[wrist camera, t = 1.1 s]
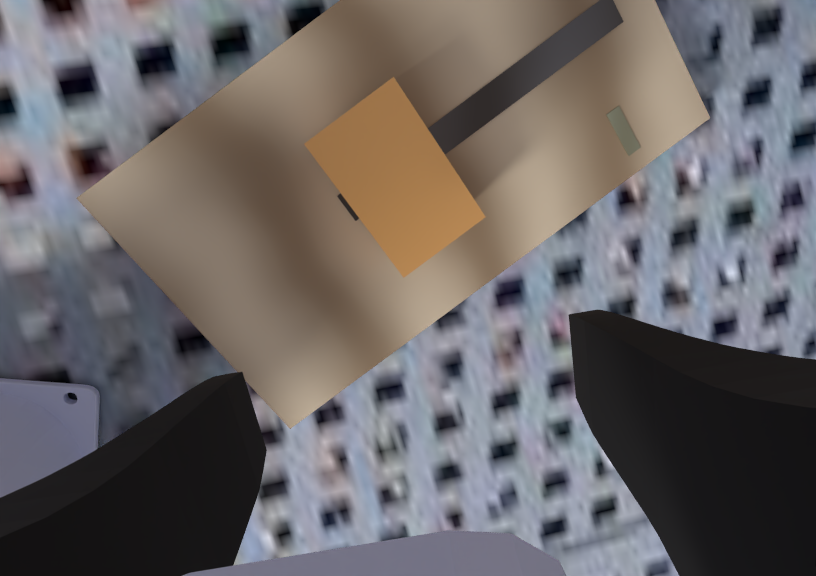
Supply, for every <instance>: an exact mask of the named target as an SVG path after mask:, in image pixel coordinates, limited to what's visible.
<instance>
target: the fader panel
mask: <svg viewBox="0 0 816 576" xmlns="http://www.w3.org/2000/svg"><path fill="white" fill-rule="evenodd" d="M393 77H394V78H395V80H396V81H397V83H398V84H399V86H400V87H401V89H402V90H403V92H404V93H405V95H406V96H407V98H408V99H409V101H410V102H411V104H412V105H413V107H414V108H415V110H416V112H417V113H418V115H419V116H420V118H421V119H422V121H423V122H424V124H425V125H426V127H427V128H428V130H429V131H430V133H431V134H432V136H433V137H434V139H435V140H436V142H437V143H438V145H439V147H440V148H441V150H442V151H443V153H444V154H445V156H446V157H447V159H448V160H449V162H450V163H451V165H452V166H453V168H454V169H455V171H456V172H457V174H458V175H459V177H460V179H461V180H462V182H463V183H464V185H465V186H466V188H467V189H468V191H469V192H470V194H471V195H472V197H473V198H474V200H475V201H476V203H477V204H478V206H479V207H480V209H481V210H482V212H483V214H484V215H485V218H484V219H483V220H481V221H480V222H478V223H477V224H476V225H474V226H473V227H472V228H470V229H469V230H468V231H466V232H465V233H464V234H462V235H461V236H460V237H458V238H457V239H456V240H454V241H453V242H452V243H450V244H449V245H447V246H446V247H445V248H443V249H442V250H441V251H439V252H438V253H437V254H435V255H434V256H433V257H431V258H430V259H429V260H427V261H426V262H425V263H423V264H422V265H421V266H419V267H418V268H416V269H415V270H414V271H412V272H411V273H410V274H408V275H407V276H406V277H404V278H403V276H402V275H401V274H400V272H399V271H398V270H397V268H396V267H395V266H394V264H393V263H392V262H391V260H390V259H389V258H388V256H387V255H386V253H385V252H384V251H383V249H382V248H381V247H380V245H379V244H378V243H377V241H376V240H375V239H374V237H373V236H372V235H371V233H370V232H369V231H368V229H367V228H366V227H365V225H364V224H363V223H362V221H361V220H360V219H359V217H358V216H357V215H356V213H355V212H354V211H353V209H352V208H351V207H350V205H349V204H348V202H347V201H346V200H345V198H344V197H343V196H342V194H341V193H340V192H339V190H338V189H337V188H336V186H335V185H334V184H333V182H332V181H331V180H330V178H329V177H328V176H327V174H326V173H325V172H324V170H323V169H322V168H321V166H320V165H319V164H318V162H317V161H316V160H315V158H314V157H313V155H312V154H311V153H310V151H309V150H308V149H307V147H306V146H305V145H304V143H306V142H307V141H308V140H310V139H311V138H312V137H314V136H315V135H316V134H318V133H319V132H320V131H322V130H323V129H324V128H326V127H327V126H328V125H330V124H331V123H332V122H334V121H335V120H337V119H338V118H339V117H341V116H342V115H343V114H345V113H346V112H347V111H349V110H350V109H351V108H353V107H354V106H355V105H357V104H358V103H359V102H361V101H362V100H363V99H365V98H366V97H367V96H369V95H370V94H371V93H373V92H374V91H375V90H377V89H378V88H379V87H381V86H382V85H383V84H385V83H386V82H387V81H389V80H390V79H391V78H393ZM709 118H710V117H709V114H708V112H707V110H706V108H705V106H704V104H703V102H702V100H701V97H700V95H699V93H698V91H697V89H696V87H695V85H694V82H693V80H692V78H691V76H690V74H689V72H688V70H687V68H686V65H685V63H684V61H683V59H682V57H681V55H680V53H679V51H678V48H677V46H676V44H675V42H674V40H673V38H672V36H671V34H670V31H669V29H668V27H667V25H666V23H665V21H664V19H663V17H662V14H661V12H660V10H659V8H658V6H657V4H656V2H655V0H340V1H338V2H337V3H336V4H334V5H333V6H332V7H330V8H329V9H328V10H326V11H325V12H324V13H322V14H321V15H320V16H318V17H317V18H316V19H314V20H313V21H312V22H310V23H309V24H308V25H306V26H305V27H304V28H302V29H301V30H300V31H298V32H297V33H296V34H295V35H293V36H292V37H291V38H289V39H288V40H287V41H285V42H284V43H283V44H281V45H280V46H279V47H277V48H276V49H275V50H273V51H272V52H271V53H269V54H268V55H267V56H265V57H264V58H263V59H261V60H260V61H259V62H257V63H256V64H255V65H253V66H252V67H251V68H249V69H248V70H247V71H245V72H244V73H243V74H241V75H240V76H239V77H237V78H236V79H235V80H233V81H232V82H231V83H229V84H228V85H227V86H225V87H224V88H223V89H221V90H220V91H219V92H217V93H216V94H215V95H213V96H212V97H211V98H209V99H208V100H207V101H205V102H204V103H203V104H201V105H200V106H199V107H197V108H196V109H195V110H193V111H192V112H191V113H189V114H188V115H187V116H185V117H184V118H183V119H181V120H180V121H179V122H177V123H176V124H175V125H173V126H172V127H171V128H169V129H168V130H167V131H165V132H164V133H163V134H161V135H160V136H159V137H157V138H156V139H155V140H153V141H152V142H151V143H149V144H148V145H147V146H145V147H144V148H143V149H141V150H140V151H139V152H137V153H136V154H135V155H133V156H132V157H131V158H129V159H128V160H127V161H125V162H124V163H123V164H121V165H120V166H119V167H117V168H116V169H115V170H113V171H112V172H111V173H109V174H108V175H107V176H105V177H104V178H103V179H101V180H100V181H99V182H97V183H96V184H95V185H93V186H92V187H91V188H89V189H88V190H87V191H85V192H84V193H83V194H81V195H80V196H79V197H77V199H78V201H79V202H80V203H81V204H82V205H83V206H84V207H85V208H86V209H87V210H88V211H89V212H90V214H91V215H92V216H93V217H94V218H95V219H96V220H97V221H98V222H99V223H100V224H101V225H102V226H103V228H104V229H105V230H106V231H107V232H108V233H109V234H110V235H111V236H112V237H113V238H114V239H115V240H116V242H117V243H118V244H119V245H120V246H121V247H122V248H123V249H124V250H125V251H126V252H127V253H128V254H129V256H130V257H131V258H132V259H133V260H134V261H135V262H136V263H137V264H138V265H139V266H140V267H141V269H142V270H143V271H144V272H145V273H146V274H147V275H148V276H149V277H150V278H151V279H152V280H153V281H154V283H155V284H156V285H157V286H158V287H159V288H160V289H161V290H162V291H163V292H164V293H165V294H166V295H167V297H168V298H169V299H170V300H171V301H172V302H173V303H174V304H175V305H176V306H177V307H178V308H179V309H180V311H181V312H182V313H183V314H184V315H185V316H186V317H187V318H188V319H189V320H190V321H191V322H192V323H193V325H194V326H195V327H196V328H197V329H198V330H199V331H200V332H201V333H202V334H203V335H204V336H205V338H206V339H207V340H208V341H209V342H210V343H211V344H212V345H213V346H214V347H215V348H216V349H217V350H218V352H219V353H220V354H221V355H222V356H223V357H224V358H225V359H226V360H227V361H228V362H229V363H230V364H231V366H232V367H233V368H234V369H235V370H236V371H237V372H243V375H244V379H245V381H246V382H247V383H248V384H249V385H250V386H251V387H252V388H253V389H254V390H255V391H256V392H257V394H258V395H259V396H260V397H261V398H262V399H263V400H264V401H265V402H266V403H267V404H268V405H269V407H270V408H271V409H272V410H273V411H274V412H275V413H276V414H277V415H278V416H279V417H280V418H281V419H282V421H283V422H284V423H285V424H286V425H287V426H288V427H289V428H290V429H291V428H292V427H293V426H295V425H296V424H297V423H299V422H300V421H301V420H303V419H304V418H305V417H307V416H308V415H310V414H311V413H312V412H314V411H315V410H316V409H318V408H319V407H320V406H322V405H323V404H324V403H326V402H327V401H328V400H330V399H331V398H332V397H334V396H335V395H337V394H338V393H339V392H341V391H342V390H343V389H345V388H346V387H347V386H349V385H350V384H351V383H353V382H354V381H355V380H357V379H358V378H360V377H361V376H362V375H364V374H365V373H366V372H368V371H369V370H370V369H372V368H373V367H374V366H376V365H377V364H378V363H380V362H381V361H382V360H384V359H385V358H387V357H388V356H389V355H391V354H392V353H393V352H395V351H396V350H397V349H399V348H400V347H401V346H403V345H404V344H405V343H407V342H408V341H409V340H411V339H412V338H414V337H415V336H416V335H418V334H419V333H420V332H422V331H423V330H424V329H426V328H427V327H428V326H430V325H431V324H432V323H434V322H435V321H436V320H438V319H439V318H441V317H442V316H443V315H445V314H446V313H447V312H449V311H450V310H451V309H453V308H454V307H455V306H457V305H458V304H459V303H461V302H462V301H464V300H465V299H466V298H468V297H469V296H470V295H472V294H473V293H474V292H476V291H477V290H478V289H480V288H481V287H482V286H484V285H485V284H486V283H488V282H489V281H491V280H492V279H493V278H495V277H496V276H497V275H499V274H500V273H501V272H503V271H504V270H505V269H507V268H508V267H509V266H511V265H512V264H513V263H515V262H516V261H518V260H519V259H520V258H522V257H523V256H524V255H526V254H527V253H528V252H530V251H531V250H532V249H534V248H535V247H536V246H538V245H539V244H540V243H542V242H543V241H545V240H546V239H547V238H549V237H550V236H551V235H553V234H554V233H555V232H557V231H558V230H559V229H561V228H562V227H563V226H565V225H566V224H568V223H569V222H570V221H572V220H573V219H574V218H576V217H577V216H578V215H580V214H581V213H582V212H584V211H585V210H586V209H588V208H589V207H590V206H592V205H593V204H595V203H596V202H597V201H599V200H600V199H601V198H603V197H604V196H605V195H607V194H608V193H609V192H611V191H612V190H613V189H615V188H616V187H617V186H619V185H620V184H622V183H623V182H624V181H626V180H627V179H628V178H630V177H631V176H632V175H634V174H635V173H636V172H638V171H639V170H640V169H642V168H643V167H644V166H646V165H647V164H649V163H650V162H651V161H653V160H654V159H655V158H657V157H658V156H659V155H661V154H662V153H663V152H665V151H666V150H667V149H669V148H670V147H672V146H673V145H674V144H676V143H677V142H678V141H680V140H681V139H682V138H684V137H685V136H686V135H688V134H689V133H690V132H692V131H693V130H694V129H696V128H697V127H699V126H700V125H701V124H703V123H704V122H705V121H707V120H708V119H709Z"/></svg>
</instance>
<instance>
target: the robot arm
mask: <svg viewBox="0 0 816 576" xmlns="http://www.w3.org/2000/svg"><path fill="white" fill-rule="evenodd" d="M569 322H570V334H571V345H572V357H573V368H574V380H575V391H576V399H577V401H578V403H579V405H580V408H581V410H582V412H583V414H584V416H585V419H586V421H587V423H588V425H589V427H590V429H591V431H592V433H593V435H594V437H595V438H596V440H597V441H598V443H599V444H600V446H601V448H602V449H603V451H604V452H605V454H606V455H607V457H608V458H609V460H610V461H611V463H612V464H613V466H614V467H615V469H616V470H617V472H618V473H619V475H620V476H621V478H622V479H623V481H624V482H625V484H626V485H627V487H628V488H629V490H630V492H631V493H632V495H633V496H634V498H635V499H636V501H637V502H638V504H639V505H640V507H641V508H642V510H643V511H644V513H645V514H646V516H647V517H648V519H649V521H650V522H651V524H652V526H653V527H654V529H655V531H656V532H657V534H658V536H659V537H660V539H661V541H662V543H663V545H664V547H665V549H666V551H667V553H668V555H669V557H670V559H671V560H672V562H673V564H674V566H675V568H676V570H677V572H678V574H679V576H816V360H814V359H805V358H796V357H789V356H782V355H775V354H769V353H764V352H758V351H752V350H747V349H741V348H736V347H731V346H727V345H722V344H718V343H714V342H710V341H706V340H702V339H698V338H695V337H691V336H687V335H684V334H680V333H677V332H673V331H670V330H667V329H663V328H660V327H657V326H654V325H651V324H647V323H644V322H641V321H638V320H635V319H632V318H629V317H625V316H622V315H619V314H615V313H612V312H608V311H603V310H593V311H587V312H581V313H575V314H570V315H569ZM68 393H74V394H75V395H76V396H77V400H72V399H70V398H69V397H68ZM99 406H100V395H99V392H98V390H97V389H96V388H95V387H93V386H90V385H83V384H69V383H56V382H43V381H30V380H17V379H4V378H0V576H566V574H565V572H564V570H563V568H562V566H561V564H560V562H559V560H557V559H555V558H554V557H552V556H550V555H548V554H546V553H545V552H543V551H541V550H539V549H538V548H536V547H534V546H532V545H531V544H529V543H527V542H525V541H524V540H522V539H520V538H518V537H517V536H515V535H513V534H511V533H491V532H470V531H450V530H449V531H443V532H436V533H430V534H424V535H418V536H412V537H406V538H400V539H394V540H387V541H381V542H375V543H369V544H363V545H357V546H351V547H344V548H338V549H332V550H326V551H320V552H314V553H308V554H302V555H295V556H289V557H283V558H277V559H271V560H265V561H259V562H253V563H246V564H240V565H234V566H233V564H234V562H235V559H236V556H237V553H238V550H239V547H240V545H241V542H242V539H243V536H244V533H245V531H246V528H247V525H248V522H249V519H250V516H251V513H252V510H253V507H254V504H255V501H256V498H257V495H258V492H259V489H260V484H261V479H262V474H263V469H264V463H265V457H266V451H267V450H266V447H265V443H264V440H263V437H262V434H261V430H260V427H259V424H258V421H257V417H256V414H255V411H254V408H253V404H252V401H251V398H250V395H249V392H248V388H247V385H246V382H245V379H244V375H243V372H237V373H231V374H225V375H219V376H215V377H212V378H210V379H208V380H206V381H204V382H202V383H201V384H199V385H197V386H195V387H194V388H192V389H191V390H189V391H187V392H186V393H184V394H183V395H181V396H180V397H178V398H177V399H175V400H174V401H172V402H171V403H169V404H168V405H166V406H165V407H163V408H162V409H160V410H159V411H157V412H156V413H154V414H153V415H151V416H150V417H148V418H146V419H145V420H143V421H142V422H140V423H139V424H137V425H135V426H134V427H132V428H131V429H129V430H127V431H126V432H124V433H123V434H121V435H119V436H118V437H116V438H115V439H113V440H111V441H110V442H108V443H107V444H105V445H103V446H102V447H100V448H98V430H99Z"/></svg>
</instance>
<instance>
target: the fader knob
mask: <svg viewBox="0 0 816 576" xmlns="http://www.w3.org/2000/svg"><path fill="white" fill-rule="evenodd" d="M304 145H305V146H306V147H307V149H308V150H309V151H310V153H311V154H312V155H313V157H314V158H315V160H316V161H317V162H318V164H319V165H320V166H321V168H322V169H323V170H324V172H325V173H326V174H327V176H328V177H329V178H330V180H331V181H332V182H333V184H334V185H335V186H336V188H337V189H338V190H339V192H340V193H341V194H342V196H343V197H344V198H345V200H346V201H347V202H348V204H349V205H350V207H351V208H352V209H353V211H354V212H355V213H356V215H357V216H358V217H359V219H360V220H361V221H362V223H363V224H364V225H365V227H366V228H367V229H368V231H369V232H370V233H371V235H372V236H373V237H374V239H375V240H376V241H377V243H378V244H379V245H380V247H381V248H382V249H383V251H384V252H385V253H386V255H387V256H388V258H389V259H390V260H391V262H392V263H393V264H394V266H395V267H396V268H397V270H398V271H399V272H400V274H401V275H402V276H403V278H404V277H406V276H407V275H408V274H410V273H411V272H412V271H414V270H415V269H416V268H418V267H419V266H421V265H422V264H423V263H425V262H426V261H427V260H429V259H430V258H431V257H433V256H434V255H435V254H437V253H438V252H439V251H441V250H442V249H443V248H445V247H446V246H447V245H449V244H450V243H452V242H453V241H454V240H456V239H457V238H458V237H460V236H461V235H462V234H464V233H465V232H466V231H468V230H469V229H470V228H472V227H473V226H474V225H476V224H477V223H478V222H480V221H481V220H483V219H484V218H485V215H484V214H483V212H482V210H481V209H480V207H479V206H478V204H477V203H476V201H475V200H474V198H473V197H472V195H471V194H470V192H469V191H468V189H467V188H466V186H465V185H464V183H463V182H462V180H461V179H460V177H459V175H458V174H457V172H456V171H455V169H454V168H453V166H452V165H451V163H450V162H449V160H448V159H447V157H446V156H445V154H444V153H443V151H442V150H441V148H440V147H439V145H438V143H437V142H436V140H435V139H434V137H433V136H432V134H431V133H430V131H429V130H428V128H427V127H426V125H425V124H424V122H423V121H422V119H421V118H420V116H419V115H418V113H417V112H416V110H415V108H414V107H413V105H412V104H411V102H410V101H409V99H408V98H407V96H406V95H405V93H404V92H403V90H402V89H401V87H400V86H399V84H398V83H397V81H396V80H395V78H394V77H393V78H391V79H390V80H389V81H387V82H386V83H385V84H383V85H382V86H381V87H379V88H378V89H377V90H375V91H374V92H373V93H371V94H370V95H369V96H367V97H366V98H365V99H363V100H362V101H361V102H359V103H358V104H357V105H355V106H354V107H353V108H351V109H350V110H349V111H347V112H346V113H345V114H343V115H342V116H341V117H339V118H338V119H337V120H335V121H334V122H332V123H331V124H330V125H328V126H327V127H326V128H324V129H323V130H322V131H320V132H319V133H318V134H316V135H315V136H314V137H312V138H311V139H310V140H308V141H307V142H306V143H304Z"/></svg>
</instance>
